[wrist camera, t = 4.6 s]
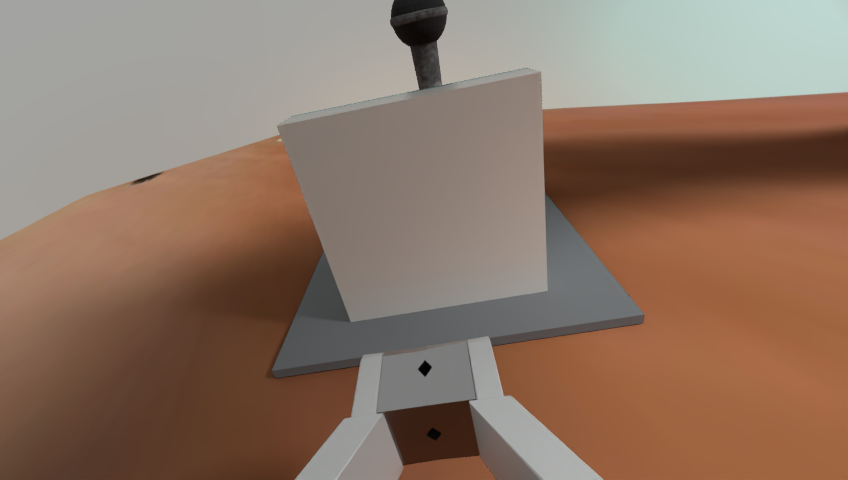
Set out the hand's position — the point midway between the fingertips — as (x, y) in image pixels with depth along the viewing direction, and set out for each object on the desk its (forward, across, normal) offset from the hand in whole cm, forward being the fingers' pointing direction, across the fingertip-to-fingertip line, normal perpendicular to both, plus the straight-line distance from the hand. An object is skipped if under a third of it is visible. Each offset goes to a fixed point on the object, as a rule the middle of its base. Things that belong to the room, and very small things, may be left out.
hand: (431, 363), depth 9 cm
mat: (+17, 0, +8) cm, 19 cm away
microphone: (+44, -2, +8) cm, 45 cm away
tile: (+12, 0, +8) cm, 14 cm away
